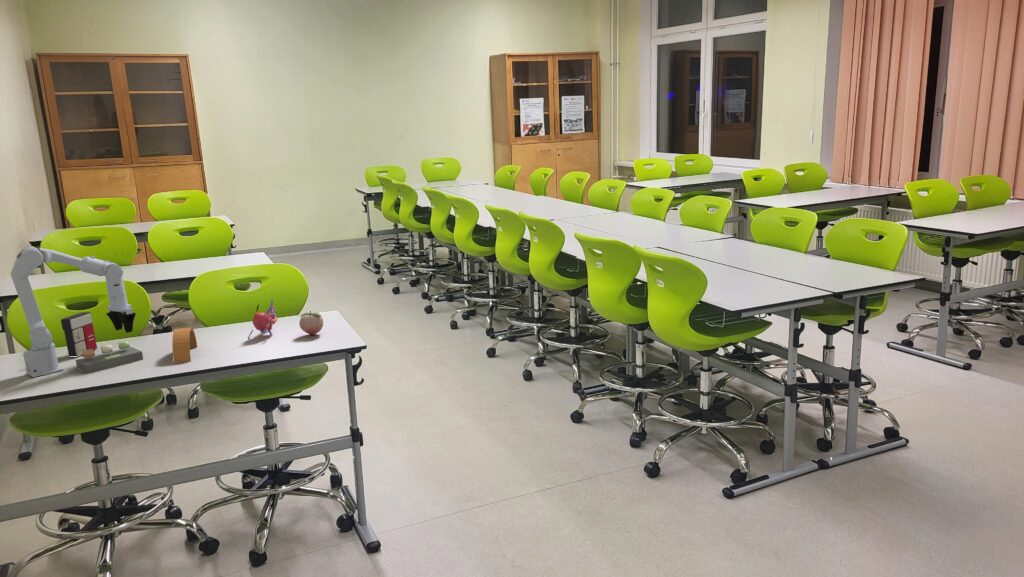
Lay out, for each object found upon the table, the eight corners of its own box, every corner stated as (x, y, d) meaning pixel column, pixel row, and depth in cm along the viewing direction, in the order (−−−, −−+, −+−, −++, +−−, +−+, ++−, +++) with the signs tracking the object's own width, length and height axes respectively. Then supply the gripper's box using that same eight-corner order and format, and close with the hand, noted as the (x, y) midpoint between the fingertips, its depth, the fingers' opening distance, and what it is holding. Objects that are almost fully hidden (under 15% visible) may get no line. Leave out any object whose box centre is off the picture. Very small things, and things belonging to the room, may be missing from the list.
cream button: (103, 353, 264) (102, 348, 263) (99, 352, 266) (99, 346, 266) (114, 351, 266) (113, 346, 266) (110, 349, 269) (109, 344, 268)
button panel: (86, 373, 256) (84, 364, 255) (77, 368, 263) (75, 359, 262) (143, 359, 269) (141, 350, 269) (132, 354, 276) (131, 346, 275)
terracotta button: (85, 358, 259) (84, 352, 259) (81, 356, 262) (80, 351, 261) (96, 355, 262) (95, 350, 261) (92, 353, 264) (91, 348, 264)
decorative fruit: (328, 331, 294) (325, 307, 292) (320, 337, 286) (318, 312, 284) (305, 332, 295) (302, 308, 293) (297, 338, 287) (294, 313, 285)
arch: (173, 363, 262) (169, 336, 260) (181, 348, 281) (178, 323, 279) (190, 361, 264) (186, 334, 262) (198, 346, 283) (194, 321, 281)
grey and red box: (77, 358, 275) (70, 319, 272) (67, 357, 276) (60, 319, 273) (98, 349, 286) (92, 311, 283) (89, 349, 287) (82, 311, 284)
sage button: (121, 349, 268) (120, 344, 267) (117, 348, 270) (116, 342, 270) (131, 347, 270) (130, 342, 270) (127, 345, 273) (126, 340, 272)
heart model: (244, 344, 286) (254, 322, 304) (270, 348, 288) (278, 326, 306) (249, 305, 280) (259, 285, 298) (275, 309, 282) (284, 289, 300)
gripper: (137, 294, 269) (144, 330, 272) (118, 291, 277) (125, 325, 281) (118, 299, 263) (125, 335, 266) (99, 295, 272) (106, 330, 275)
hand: (124, 330), depth 273 cm, fingers open, 7 cm apart
